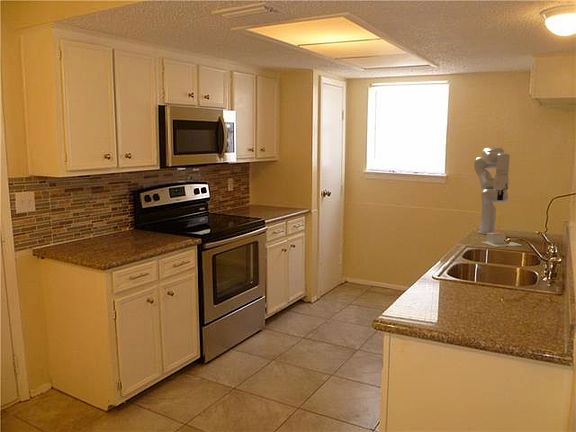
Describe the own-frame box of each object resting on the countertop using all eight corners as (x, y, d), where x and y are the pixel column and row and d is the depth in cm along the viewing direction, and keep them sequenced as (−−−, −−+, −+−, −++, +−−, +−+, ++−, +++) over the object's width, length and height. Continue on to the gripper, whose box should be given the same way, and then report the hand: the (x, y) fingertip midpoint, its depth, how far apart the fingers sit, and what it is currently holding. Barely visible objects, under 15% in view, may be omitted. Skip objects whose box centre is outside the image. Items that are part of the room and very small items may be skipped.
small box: (498, 232, 323) (506, 235, 313) (498, 240, 324) (505, 243, 314) (486, 232, 323) (493, 235, 313) (486, 240, 324) (493, 243, 313)
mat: (481, 242, 320) (481, 241, 320) (507, 241, 324) (507, 240, 324) (495, 247, 306) (495, 246, 306) (522, 245, 310) (522, 245, 310)
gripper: (490, 171, 331) (488, 198, 335) (504, 173, 317) (501, 202, 320) (500, 171, 333) (498, 198, 336) (514, 173, 318) (512, 201, 322)
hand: (499, 200), depth 328 cm, fingers closed
